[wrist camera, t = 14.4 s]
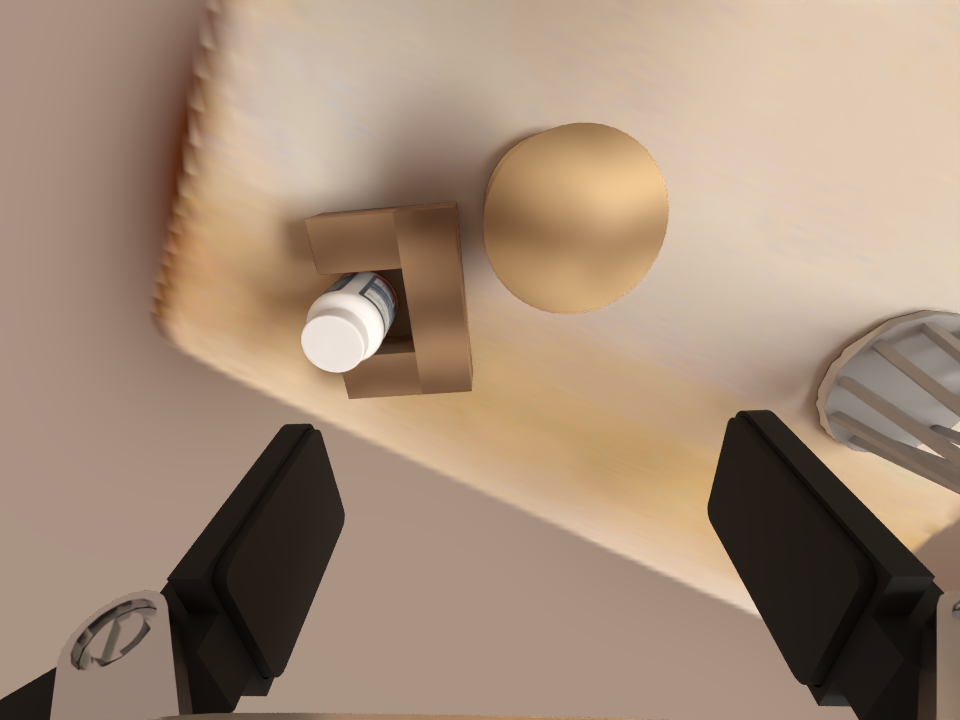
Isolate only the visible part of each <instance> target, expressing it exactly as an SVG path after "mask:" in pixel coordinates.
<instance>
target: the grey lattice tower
mask: <svg viewBox="0 0 960 720" xmlns="http://www.w3.org/2000/svg"><path fill="white" fill-rule="evenodd" d="M816 406H817V408H818V411H819V416H820V424H821V425H822V426H823V428H824V429H825V430H826V433H828V434H829V435H830V436H831V437H832V438H834V439H835V440H837V441H839V442H840V443H842V444H844V445H846V446H847V447H849V448H851V449H853V450H854V451H861V452H871V453H874V454H876V455H878V456H880V457H882V458H884V459H886V460H888V461H890V462H893V463H895V464H897V465H899V466H901V467H903V468H905V469H907V470H910V471H912V472H914V473H916V474H918V475H920V476H922V477H924V478H926V479H929V480H931V481H933V482H935V483H937V484H939V485H941V486H943V487H946V488H948V489H950V490H952V491H954V492H956V493H958V494H960V448H958V447H957V446H955V445H954V444H952V443H955V444H957V445H960V432H957V431H954V430H952V429H950V428H952V427H953V426H954V425H955V424H957V423H958V422H959V421H960V314H956V313H946V312H936V311H927V310H925V311H921V312H917V313H913V314H909V315H905V316H901V317H896V318H892V319H890V320H888V321H887V322H885V323H884V324H882V325H881V326H879V327H878V328H876V329H874V330H873V331H871V332H870V333H868V334H867V335H865V336H864V337H862V338H861V339H859V340H857V341H856V342H854V343H853V344H851V345H850V346H848V347H847V348H845V349H844V350H843V352H842V354H841V356H840V357H839V358H838V359H836V360H835V361H834V362H832V364H831V366H830V368H829V370H828V372H827V374H826V375H825V377H824V379H823V381H822V383H821V385H820V387H819V389H818V400H817V402H816ZM949 441H950V442H949ZM951 442H952V443H951ZM923 443H924V444H925V445H927V446H928V447H929V448H931V449H932V450H934V451H935V452H937V453H938V454H940V455H941V456H942V457H944V458H945V459H944V458H941V457H939V456H936V455H933V454H931V453H928V452H926V451H923V450H920V449H918V448H915V447H916V446H918V445H920V444H923ZM946 459H947V460H946Z"/></svg>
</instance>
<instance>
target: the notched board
mask: <svg viewBox="0 0 960 720" xmlns="http://www.w3.org/2000/svg"><path fill="white" fill-rule="evenodd" d="M305 224H306V228H307V232H308V237H309V241H310V245H311V249H312V253H313V257H314V261H315V265H316V269H317V273H318V275H323V274H336V273H348V272H361V271H374V270H387V269H400V268H402V273H403V279H404V285H405V292H406V298H407V304H408V310H409V316H410V322H411V329H412V335H411V336H397V337H384V339H383V341H382V343H381V345H380V346H379V348H378V349H377V351H376V352H375V353H374V354H373V355H371V356H370V357H369V358H367V359H365V360H363V361H360V362H359V364H358V365H357V366H355V367H354V368H353V369H351V370H348V371H345V372H342V373H343V377H344V381H345V385H346V389H347V393H348V397H349V399H357V398H372V397H388V396H404V395H420V394H435V393H451V392H467V391H472V377H473V368H472V358H471V348H470V338H469V328H468V317H467V307H466V297H465V287H464V277H463V267H462V257H461V247H460V237H459V227H458V217H457V207H456V202H448V203H437V204H425V205H413V206H401V207H390V208H378V209H366V210H355V211H343V212H331V213H322V214H319V215H316V216H313V217H311V218H308V219H305Z"/></svg>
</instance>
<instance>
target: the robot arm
mask: <svg viewBox="0 0 960 720" xmlns="http://www.w3.org/2000/svg"><path fill="white" fill-rule="evenodd" d="M708 516H709V520H710V522H711V524H712V526H713V528H714V530H715V531H716V533H717V535H718V537H719V539H720V541H721V542H722V544H723V546H724V548H725V550H726V552H727V554H728V555H729V557H730V559H731V561H732V563H733V565H734V566H735V568H736V570H737V572H738V574H739V576H740V578H741V579H742V581H743V583H744V585H745V587H746V589H747V590H748V592H749V594H750V596H751V598H752V600H753V602H754V603H755V605H756V607H757V609H758V611H759V613H760V614H761V616H762V618H763V620H764V622H765V624H766V626H767V627H768V629H769V631H770V633H771V635H772V636H773V638H774V640H775V642H776V644H777V646H778V648H779V650H780V651H781V653H782V655H783V657H784V659H785V661H786V662H787V664H788V666H789V668H790V670H791V672H792V673H793V675H794V676H795V678H796V679H797V680H798V681H799V682H800V683H801V684H803V685H807V686H808V688H809V690H810V691H811V693H812V695H813V697H814V699H815V700H816V702H817V704H818V705H819V706H851V707H852V709H853V711H854V712H855V714H856V716H857V717H858V719H859V720H960V590H951V591H948V592H946V593H944V592H943V591H942V590H941V589H940V588H939V587H938V586H937V585H936V584H935V583H934V582H933V579H934V578H935V576H934V575H933V574H932V573H931V572H930V571H929V570H928V569H927V568H926V567H925V566H924V565H923V564H922V563H921V562H920V561H919V560H918V559H917V558H916V557H915V556H914V555H913V554H912V553H911V552H910V551H909V550H908V549H907V548H906V547H905V546H904V545H903V544H902V543H901V542H900V541H899V540H898V539H897V537H896V536H895V535H894V534H893V533H892V532H891V531H890V530H889V529H888V528H887V527H886V526H885V525H884V524H883V523H882V522H881V521H880V520H879V519H878V518H877V517H876V516H875V515H874V514H873V513H872V512H871V511H870V510H869V509H868V508H867V507H866V506H865V505H864V504H863V503H862V502H861V501H860V500H859V499H858V498H857V497H856V496H855V495H854V494H853V493H852V492H851V491H850V490H849V489H848V488H847V487H846V486H845V485H844V484H843V483H842V482H841V481H840V480H839V479H838V478H837V477H836V476H835V475H834V474H833V473H832V472H831V471H830V470H829V468H828V467H827V466H826V465H825V464H824V463H823V462H822V461H821V460H820V459H819V458H818V457H817V456H816V455H815V454H814V453H813V452H812V451H811V450H810V449H809V448H808V447H807V446H806V445H805V444H804V443H803V442H802V441H801V440H800V439H799V438H798V437H797V436H796V435H795V434H794V433H793V432H792V431H791V430H790V429H789V428H788V427H787V426H786V425H785V424H784V423H783V422H782V421H781V420H780V419H779V418H778V417H777V416H776V415H775V414H774V413H773V412H772V411H769V410H751V411H740V412H738V413H737V415H736V417H735V418H730V420H729V421H728V424H727V428H726V432H725V436H724V440H723V444H722V449H721V453H720V457H719V461H718V465H717V469H716V473H715V477H714V482H713V486H712V490H711V494H710V498H709V502H708ZM344 517H345V514H344V509H343V505H342V502H341V498H340V495H339V491H338V488H337V485H336V482H335V478H334V475H333V471H332V468H331V465H330V461H329V458H328V454H327V451H326V448H325V444H324V441H323V438H322V434H321V432H320V431H319V430H315V429H314V427H313V426H312V425H311V424H286V425H284V426H283V427H282V428H281V429H280V430H279V432H278V433H277V434H276V436H275V437H274V438H273V440H272V441H271V442H270V443H269V445H268V446H267V448H266V449H265V450H264V452H263V453H262V454H261V455H260V457H259V458H258V459H257V461H256V462H255V464H254V465H253V466H252V467H251V469H250V470H249V471H248V472H247V474H246V475H245V476H244V478H243V479H242V480H241V482H240V483H239V484H238V486H237V487H236V488H235V490H234V491H233V492H232V494H231V495H230V496H229V498H228V499H227V500H226V502H225V503H224V504H223V505H222V507H221V508H220V510H219V511H218V512H217V513H216V515H215V516H214V517H213V519H212V520H211V521H210V523H209V524H208V525H207V527H206V528H205V529H204V531H203V532H202V533H201V535H200V536H199V537H198V538H197V540H196V541H195V542H194V544H193V545H192V546H191V548H190V549H189V550H188V552H187V553H186V554H185V556H184V557H183V558H182V560H181V561H180V562H179V564H178V565H177V566H176V568H175V569H174V570H173V572H172V573H171V574H170V575H169V577H168V578H167V580H168V583H167V584H166V585H165V587H164V588H163V590H162V591H161V592H160V593H158V592H156V591H148V590H144V591H139V592H134V593H130V594H128V595H125V596H123V597H121V598H118V599H115V600H114V601H112V602H110V603H109V604H107V605H105V606H104V607H102V608H100V609H99V610H98V611H96V612H95V613H94V614H93V615H91V616H90V617H89V618H88V619H86V620H85V621H84V622H83V623H82V624H81V625H80V626H79V627H78V628H77V629H76V631H75V632H74V633H73V634H72V635H71V636H70V638H69V639H68V641H67V642H66V644H65V646H64V647H63V648H62V650H61V653H60V656H59V659H58V663H57V667H55V668H54V669H52V670H50V671H49V672H47V673H45V674H43V675H42V676H40V677H39V678H37V679H35V680H33V681H32V682H30V683H28V684H26V685H25V686H23V687H21V688H20V689H18V690H16V691H15V692H13V693H11V694H9V695H8V696H6V697H4V698H3V699H1V700H0V720H665V719H627V718H581V717H579V718H578V717H576V718H575V717H532V716H480V715H421V714H416V715H415V714H352V713H233V711H234V710H235V708H236V706H237V703H238V701H239V699H240V697H241V696H267V694H268V692H269V689H270V687H271V684H272V682H273V679H274V677H279V676H280V675H281V674H282V673H283V672H284V669H285V667H286V665H287V663H288V660H289V658H290V656H291V653H292V651H293V648H294V646H295V643H296V640H297V638H298V636H299V633H300V631H301V628H302V626H303V624H304V621H305V619H306V616H307V614H308V611H309V609H310V606H311V604H312V601H313V599H314V597H315V594H316V591H317V589H318V587H319V584H320V582H321V579H322V577H323V574H324V572H325V570H326V567H327V565H328V562H329V560H330V557H331V555H332V552H333V550H334V547H335V545H336V543H337V540H338V538H339V535H340V533H341V530H342V528H343V525H344ZM666 720H668V719H666Z"/></svg>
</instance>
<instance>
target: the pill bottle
mask: <svg viewBox="0 0 960 720" xmlns="http://www.w3.org/2000/svg"><path fill="white" fill-rule="evenodd" d="M397 309H398V300H397V296H396V293H395V291H394V289H393V287H392V286H391V285H390V283H389V282H388V281H387V280H386V279H384V278H383V277H382V276H380V275H378V274H376V273H374V272H370V271H361V272H350V273H347V274H345V275H344V276H342V277H341V278H340V279H339V280H338V281H336V282H335V283H334V284H333V285H332V286H331V287H330V288H328V289H327V290H326V291H325V292H324V293H323V294H322V295H321V296H320V297H319V298H318V299H317V300H316V301H315V302H314V303H313V304H312V306H311V307H310V309H309V311H308V314H307V319H306V325H305V327H304V329H303V331H302V334H301V345H302V349H303V351H304V353H305V355H306V356H307V358H308V359H309V360H310V361H311V362H312V363H313V364H314V365H315V366H317V367H319V368H321V369H323V370H325V371H329V372H335V373H339V372H345V371H348V370H351V369H353V368H354V367H355V366H357V365H358V364H359V362H360V361H363V360H365V359H367V358H369V357H370V356H371V355H373V354H374V353H375V352H376V351H377V349H378V348H379V346H380V345H381V343H382V341H383V339H384V337H385V335H386V333H387V331H388V330H389V328H390V326H391V324H392V322H393V320H394V318H395V316H396V313H397Z"/></svg>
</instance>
